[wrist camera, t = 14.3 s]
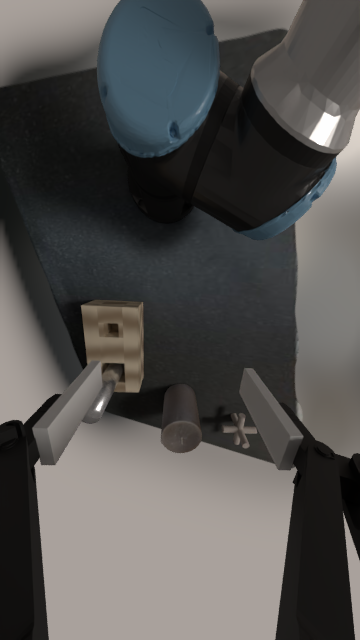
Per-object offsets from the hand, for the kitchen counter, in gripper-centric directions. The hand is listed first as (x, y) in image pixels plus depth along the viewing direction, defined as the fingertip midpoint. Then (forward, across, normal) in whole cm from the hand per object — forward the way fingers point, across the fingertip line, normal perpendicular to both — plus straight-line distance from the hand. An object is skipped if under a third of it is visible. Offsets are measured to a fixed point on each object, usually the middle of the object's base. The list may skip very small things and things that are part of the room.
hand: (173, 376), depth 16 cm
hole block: (+30, -14, -11) cm, 35 cm away
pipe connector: (+30, +22, -35) cm, 51 cm away
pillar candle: (+30, +3, -29) cm, 42 cm away
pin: (+28, -14, -16) cm, 35 cm away
